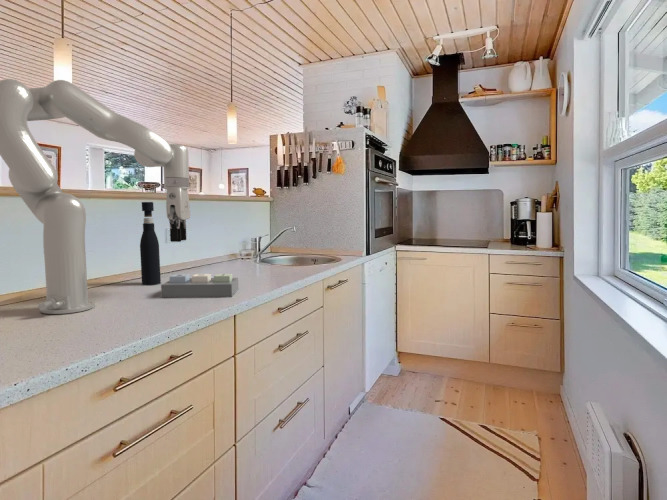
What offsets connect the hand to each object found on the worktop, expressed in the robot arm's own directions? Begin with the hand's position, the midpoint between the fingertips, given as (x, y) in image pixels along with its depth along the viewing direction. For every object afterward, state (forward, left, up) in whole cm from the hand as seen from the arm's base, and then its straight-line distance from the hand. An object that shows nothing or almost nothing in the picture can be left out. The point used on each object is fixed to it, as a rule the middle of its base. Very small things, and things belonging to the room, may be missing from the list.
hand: (178, 240), depth 137 cm
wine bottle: (+19, +16, -18) cm, 30 cm away
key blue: (0, 0, -14) cm, 14 cm away
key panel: (0, -7, -17) cm, 19 cm away
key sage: (0, -14, -14) cm, 20 cm away
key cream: (0, -7, -14) cm, 16 cm away
